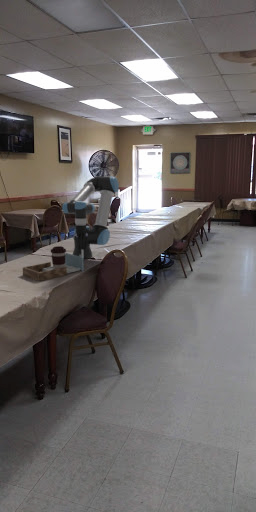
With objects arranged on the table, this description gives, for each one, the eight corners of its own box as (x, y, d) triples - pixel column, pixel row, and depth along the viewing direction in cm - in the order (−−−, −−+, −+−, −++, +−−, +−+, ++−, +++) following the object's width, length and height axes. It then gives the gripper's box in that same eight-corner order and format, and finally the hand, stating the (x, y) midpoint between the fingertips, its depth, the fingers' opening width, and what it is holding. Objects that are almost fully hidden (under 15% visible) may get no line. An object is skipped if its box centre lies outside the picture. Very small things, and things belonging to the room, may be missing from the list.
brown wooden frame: (50, 269, 264) (49, 262, 263) (66, 274, 250) (66, 267, 249) (22, 275, 250) (22, 267, 249) (39, 281, 237) (38, 273, 235)
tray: (66, 265, 273) (66, 253, 271) (83, 270, 260) (83, 257, 258) (41, 271, 259) (40, 257, 257) (57, 276, 246) (57, 262, 244)
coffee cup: (67, 270, 254) (66, 248, 251) (52, 272, 251) (51, 249, 248) (65, 267, 263) (64, 245, 260) (50, 268, 260) (49, 246, 257)
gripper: (84, 223, 271) (85, 256, 276) (69, 224, 262) (70, 259, 267) (91, 224, 266) (92, 258, 271) (76, 226, 257) (77, 261, 262)
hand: (81, 258), depth 269 cm, fingers closed
